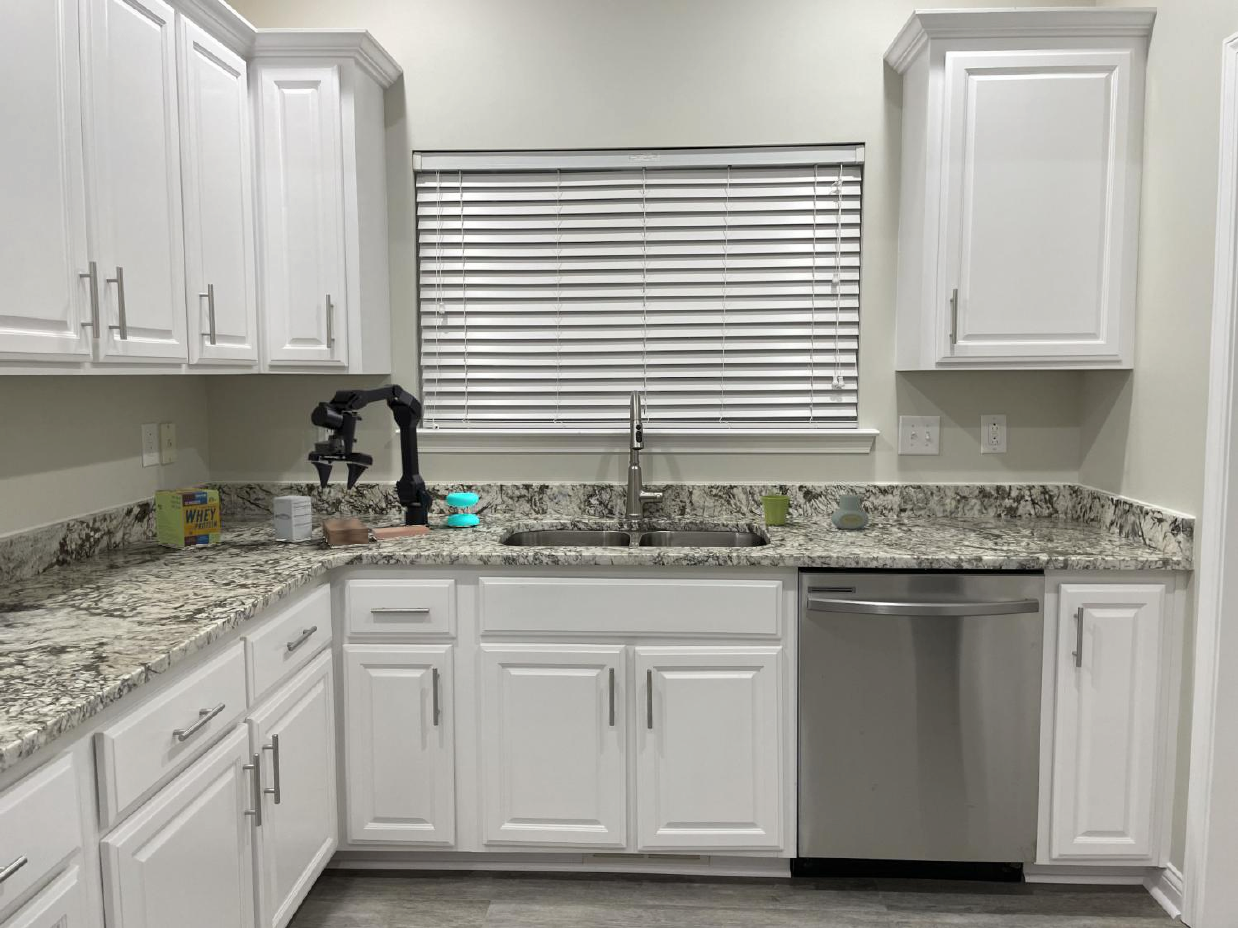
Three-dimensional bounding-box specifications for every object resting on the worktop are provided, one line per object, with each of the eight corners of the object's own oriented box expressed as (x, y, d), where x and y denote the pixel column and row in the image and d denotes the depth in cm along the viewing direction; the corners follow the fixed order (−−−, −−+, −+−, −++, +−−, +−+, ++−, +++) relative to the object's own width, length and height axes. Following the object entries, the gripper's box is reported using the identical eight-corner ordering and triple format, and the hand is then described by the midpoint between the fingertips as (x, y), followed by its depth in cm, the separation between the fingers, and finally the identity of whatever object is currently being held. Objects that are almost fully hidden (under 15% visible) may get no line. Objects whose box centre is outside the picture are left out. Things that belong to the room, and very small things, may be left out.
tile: (424, 535, 265) (423, 525, 265) (429, 539, 258) (429, 529, 258) (372, 539, 259) (371, 529, 259) (376, 543, 252) (376, 532, 252)
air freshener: (866, 526, 271) (867, 493, 270) (870, 530, 263) (870, 497, 262) (829, 526, 273) (830, 493, 272) (832, 530, 265) (832, 496, 264)
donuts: (485, 493, 279) (461, 497, 271) (485, 525, 280) (462, 529, 272) (463, 491, 285) (439, 494, 277) (463, 522, 286) (439, 526, 278)
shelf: (358, 535, 263) (357, 518, 263) (368, 546, 245) (368, 528, 245) (322, 537, 259) (322, 520, 259) (330, 549, 241) (330, 530, 241)
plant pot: (754, 522, 280) (754, 495, 280) (781, 521, 283) (782, 493, 282) (768, 527, 271) (768, 498, 271) (796, 525, 274) (796, 497, 273)
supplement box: (274, 541, 254) (272, 497, 252) (294, 537, 260) (293, 494, 259) (292, 543, 250) (291, 498, 249) (313, 539, 257) (311, 495, 256)
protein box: (184, 551, 240) (181, 494, 238) (156, 545, 249) (153, 490, 248) (222, 545, 248) (219, 490, 247) (193, 540, 257) (191, 486, 256)
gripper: (297, 427, 246) (288, 483, 244) (349, 428, 238) (341, 486, 236) (326, 435, 256) (318, 489, 254) (377, 436, 248) (369, 492, 245)
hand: (335, 489), depth 247 cm, fingers open, 9 cm apart
